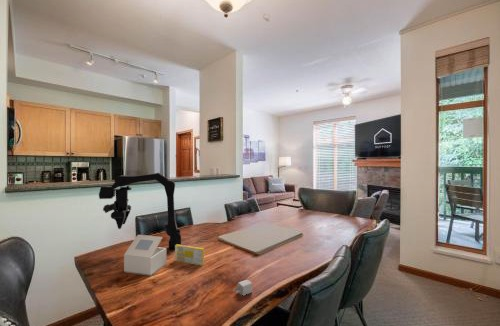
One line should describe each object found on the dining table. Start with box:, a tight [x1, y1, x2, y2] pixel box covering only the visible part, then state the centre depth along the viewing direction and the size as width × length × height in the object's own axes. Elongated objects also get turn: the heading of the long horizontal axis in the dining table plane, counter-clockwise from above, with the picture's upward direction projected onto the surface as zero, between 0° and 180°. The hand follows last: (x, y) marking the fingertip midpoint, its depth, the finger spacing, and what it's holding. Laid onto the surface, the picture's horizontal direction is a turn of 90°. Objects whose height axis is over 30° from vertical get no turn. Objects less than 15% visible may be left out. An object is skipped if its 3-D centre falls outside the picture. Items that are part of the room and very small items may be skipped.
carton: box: [123, 246, 167, 277], centre depth 110 cm, size 12×14×8 cm
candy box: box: [174, 244, 205, 267], centre depth 116 cm, size 16×2×8 cm, turn 71°
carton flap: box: [123, 234, 163, 258], centre depth 108 cm, size 11×14×1 cm
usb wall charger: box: [233, 279, 253, 297], centre depth 90 cm, size 4×7×4 cm, turn 125°
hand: (121, 226), depth 127 cm, fingers open, 9 cm apart
